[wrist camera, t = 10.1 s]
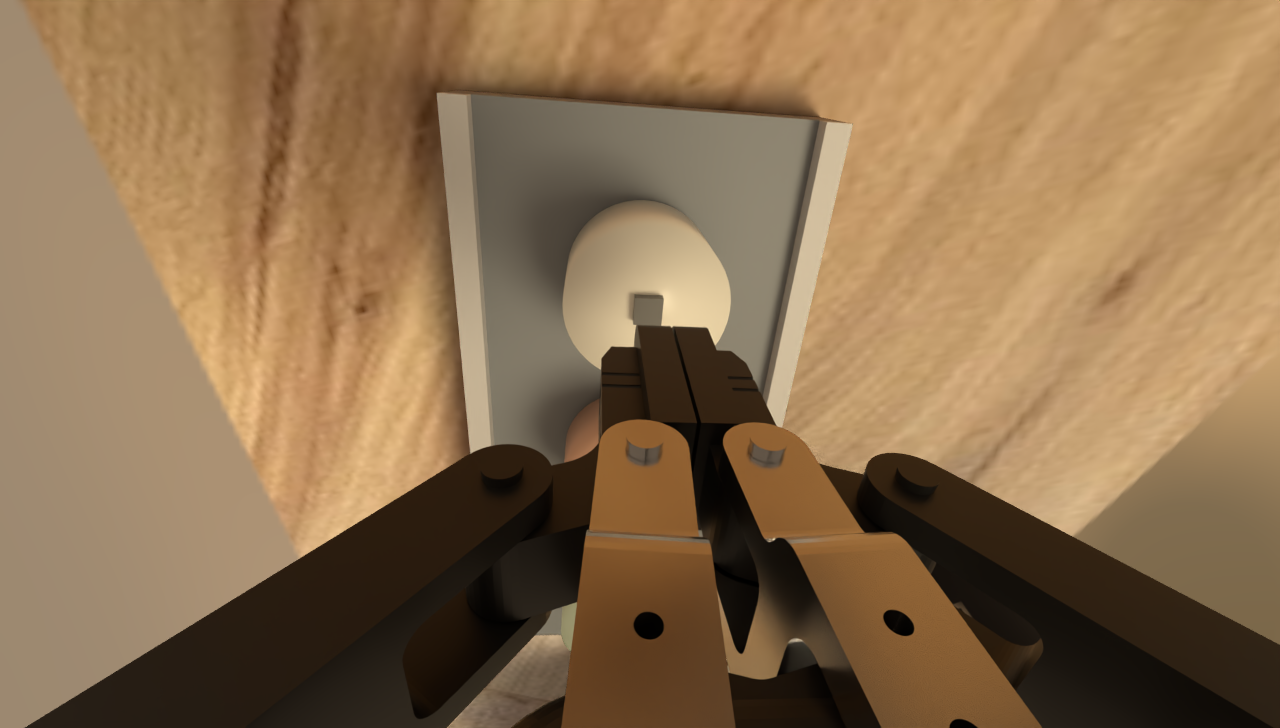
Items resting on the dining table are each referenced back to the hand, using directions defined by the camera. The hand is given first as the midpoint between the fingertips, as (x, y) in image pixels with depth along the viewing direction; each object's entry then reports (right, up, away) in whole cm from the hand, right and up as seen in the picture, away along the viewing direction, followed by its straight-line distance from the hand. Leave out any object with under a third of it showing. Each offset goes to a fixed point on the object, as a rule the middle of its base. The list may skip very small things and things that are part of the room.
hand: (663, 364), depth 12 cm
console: (-1, -2, +12) cm, 12 cm away
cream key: (0, +3, +6) cm, 7 cm away
